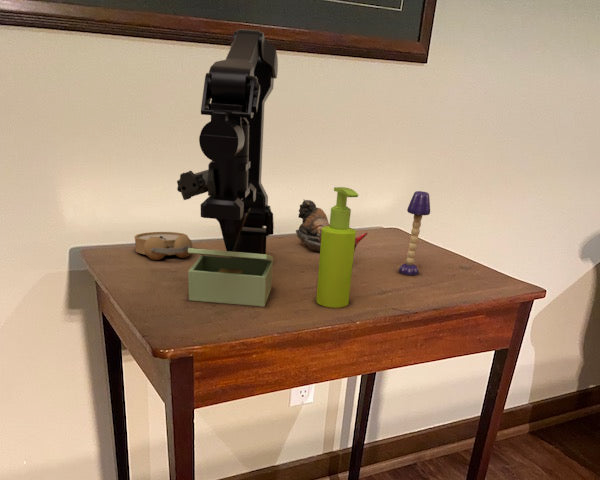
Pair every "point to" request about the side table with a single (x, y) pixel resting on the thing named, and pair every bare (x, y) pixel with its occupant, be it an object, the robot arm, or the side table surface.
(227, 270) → the block
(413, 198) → the toy lamp
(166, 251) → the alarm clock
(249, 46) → the robot arm
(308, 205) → the bison figurine
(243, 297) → the chest
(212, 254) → the lid
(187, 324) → the side table surface
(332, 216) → the soap dispenser
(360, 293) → the side table surface
